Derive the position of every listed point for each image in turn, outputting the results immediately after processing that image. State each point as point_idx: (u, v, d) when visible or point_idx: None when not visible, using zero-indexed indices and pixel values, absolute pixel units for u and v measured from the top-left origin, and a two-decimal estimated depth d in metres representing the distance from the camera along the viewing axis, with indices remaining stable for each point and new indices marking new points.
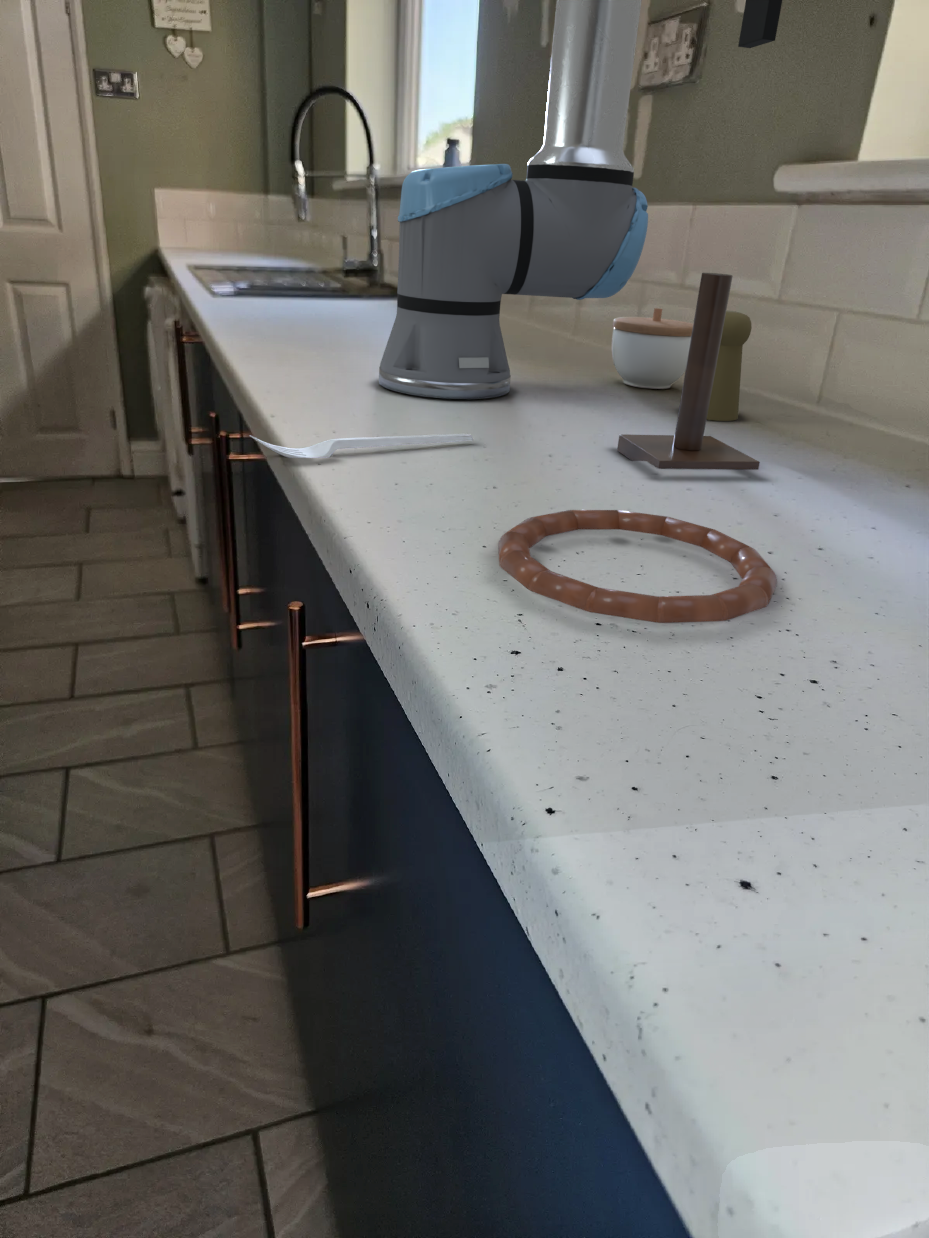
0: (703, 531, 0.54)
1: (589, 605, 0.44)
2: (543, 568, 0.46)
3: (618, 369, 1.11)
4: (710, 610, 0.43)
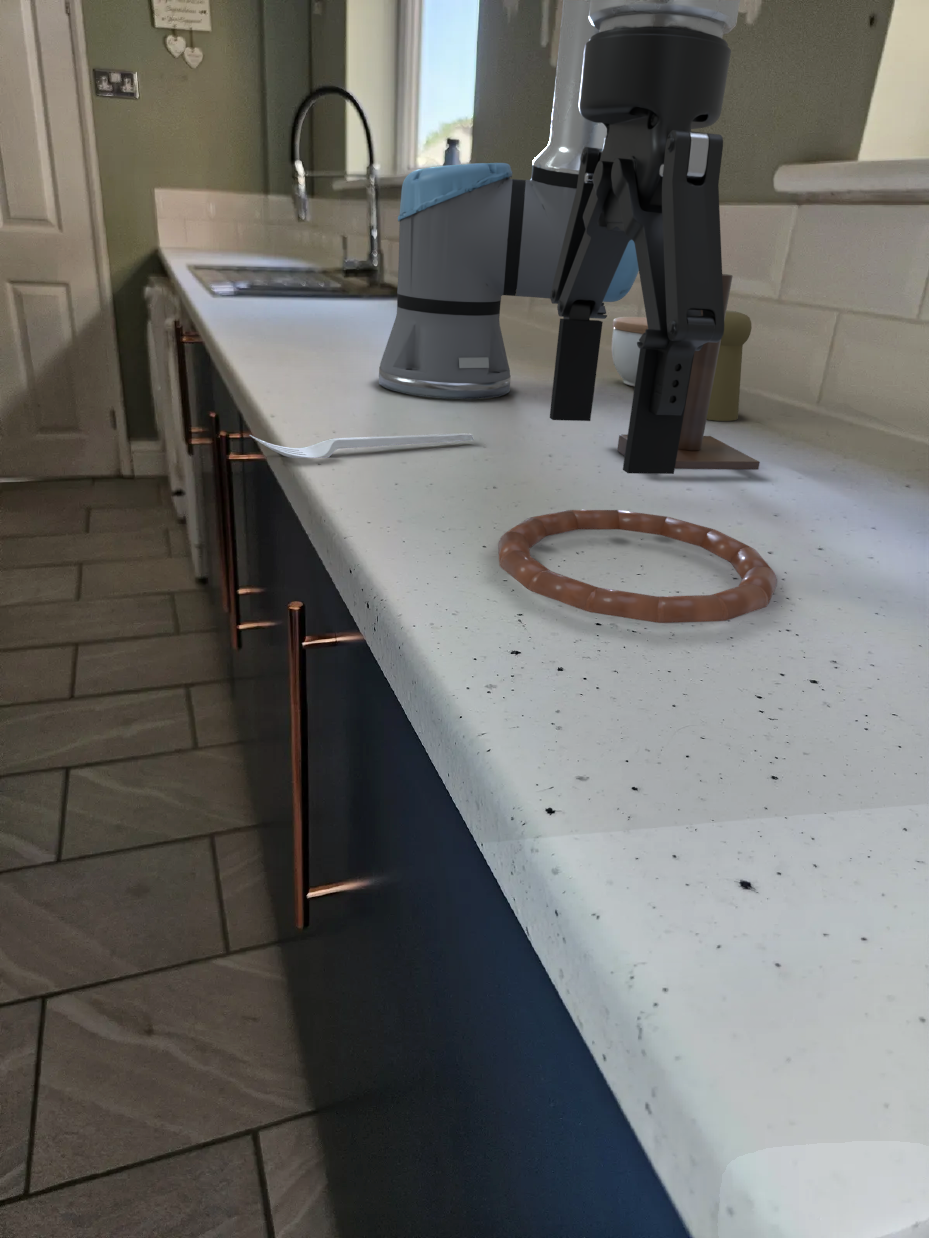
0: (703, 531, 0.54)
1: (589, 605, 0.44)
2: (543, 568, 0.46)
3: (618, 369, 1.11)
4: (710, 610, 0.43)
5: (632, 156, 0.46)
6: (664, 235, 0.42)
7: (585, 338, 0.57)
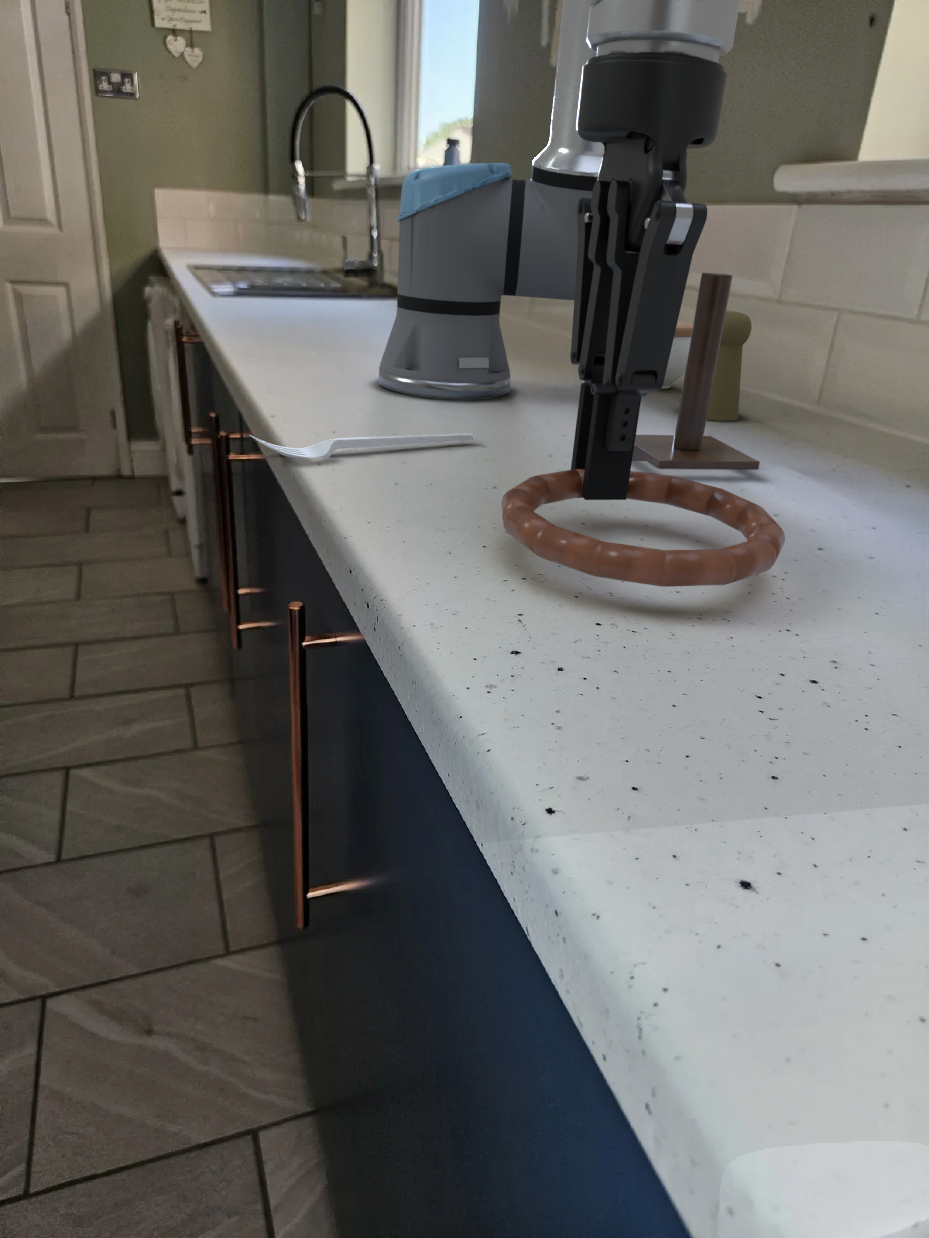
0: (709, 490, 0.53)
1: (595, 559, 0.43)
2: (548, 523, 0.45)
3: None
4: (718, 564, 0.43)
5: (629, 179, 0.46)
6: (633, 289, 0.46)
7: None
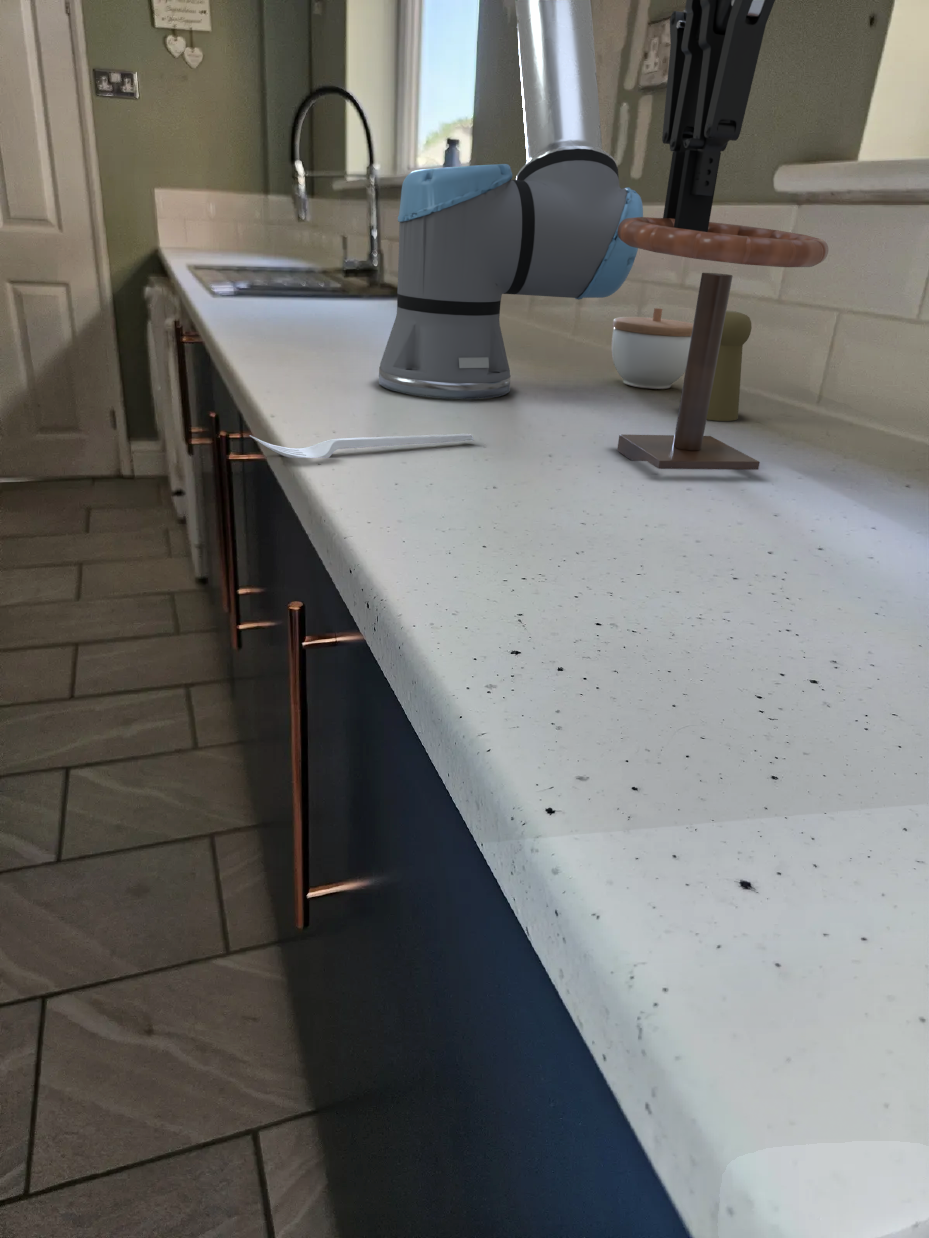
0: (770, 231, 0.71)
1: (696, 241, 0.61)
2: (660, 225, 0.63)
3: (618, 369, 1.11)
4: (783, 247, 0.61)
5: None
6: (721, 55, 0.64)
7: None
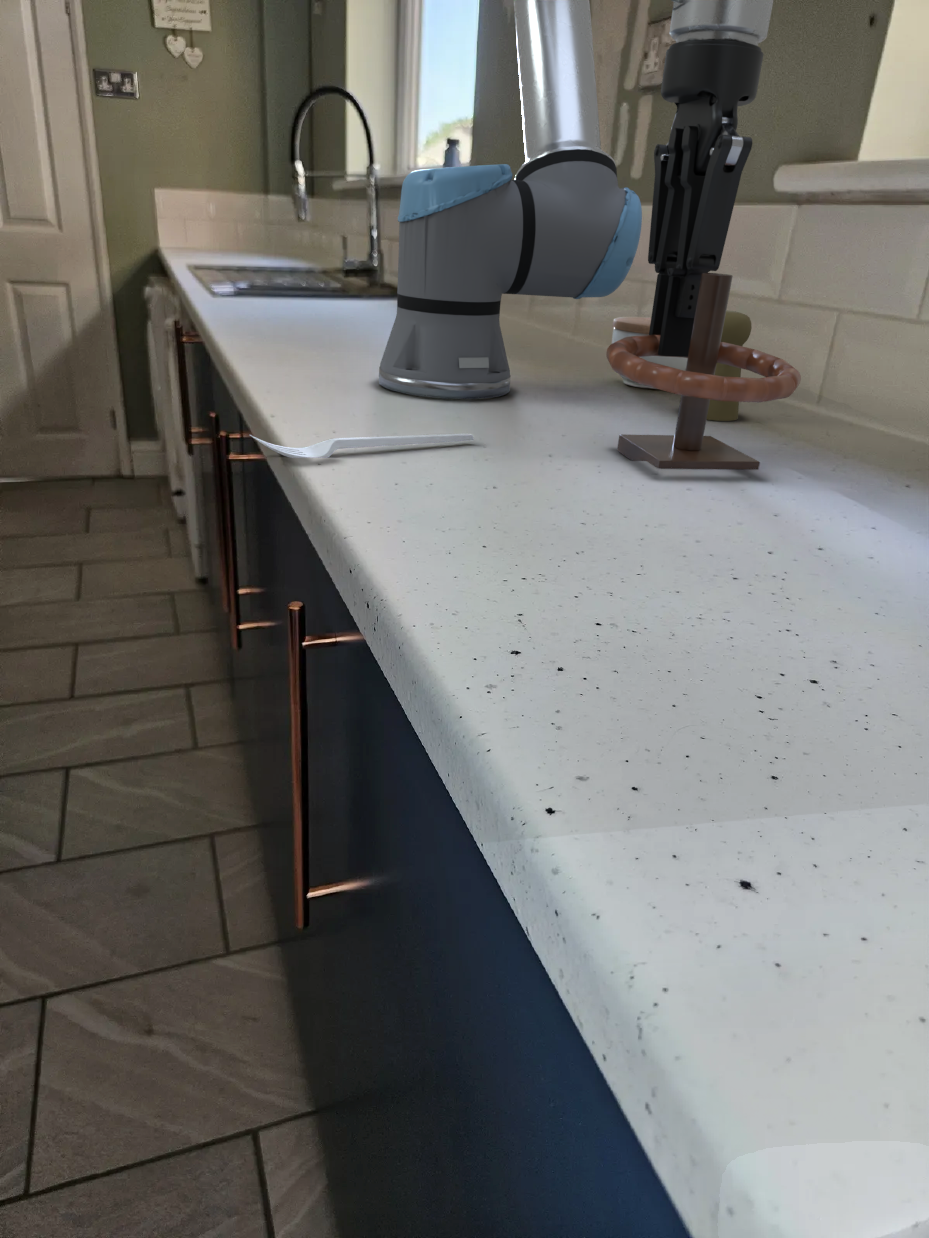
0: (748, 350, 0.76)
1: (678, 381, 0.66)
2: (644, 360, 0.68)
3: None
4: (757, 386, 0.66)
5: (697, 124, 0.69)
6: (701, 198, 0.69)
7: None
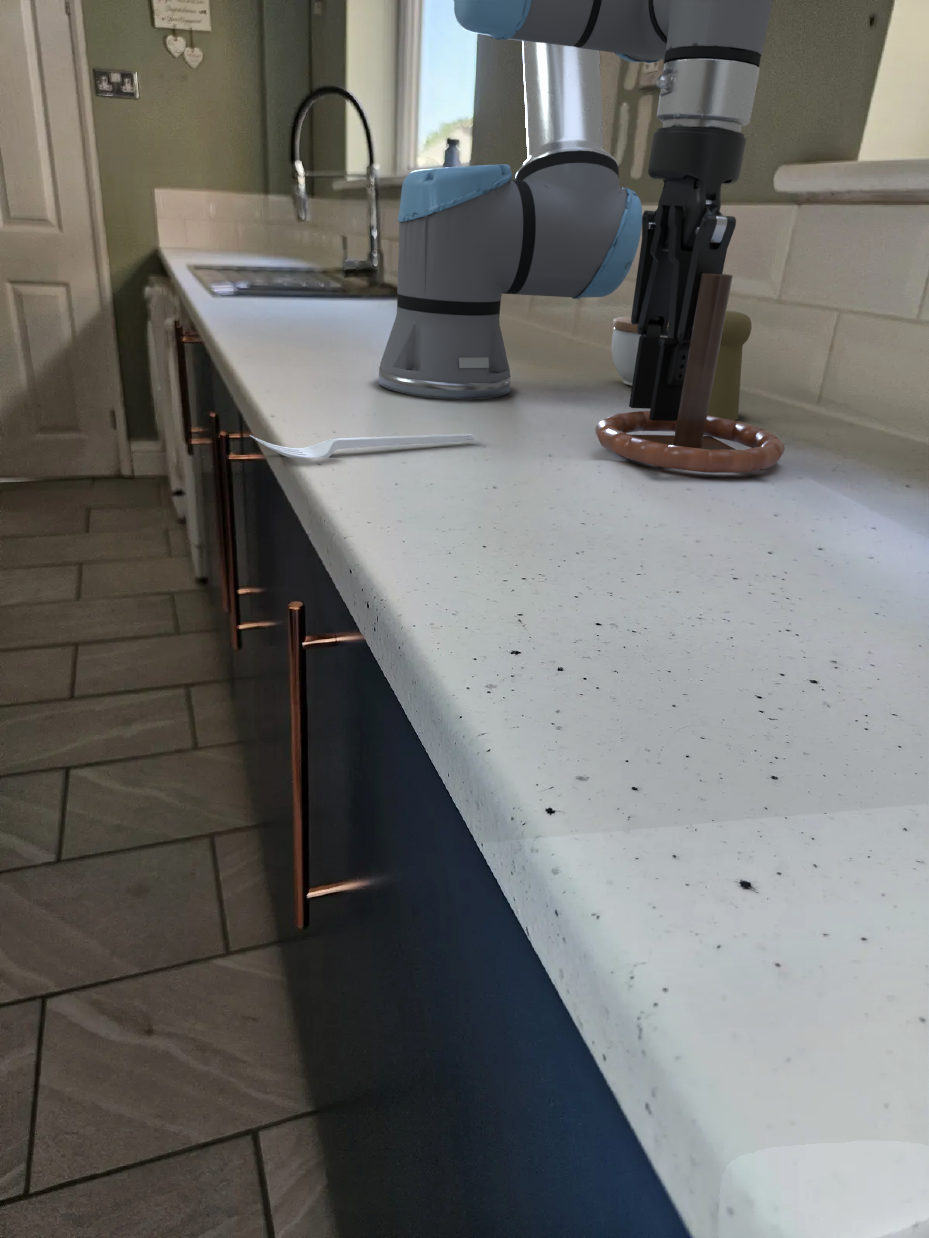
0: (733, 423, 0.79)
1: (664, 455, 0.68)
2: (632, 436, 0.71)
3: (618, 369, 1.11)
4: (742, 458, 0.68)
5: (682, 204, 0.72)
6: (689, 274, 0.71)
7: (657, 350, 0.81)
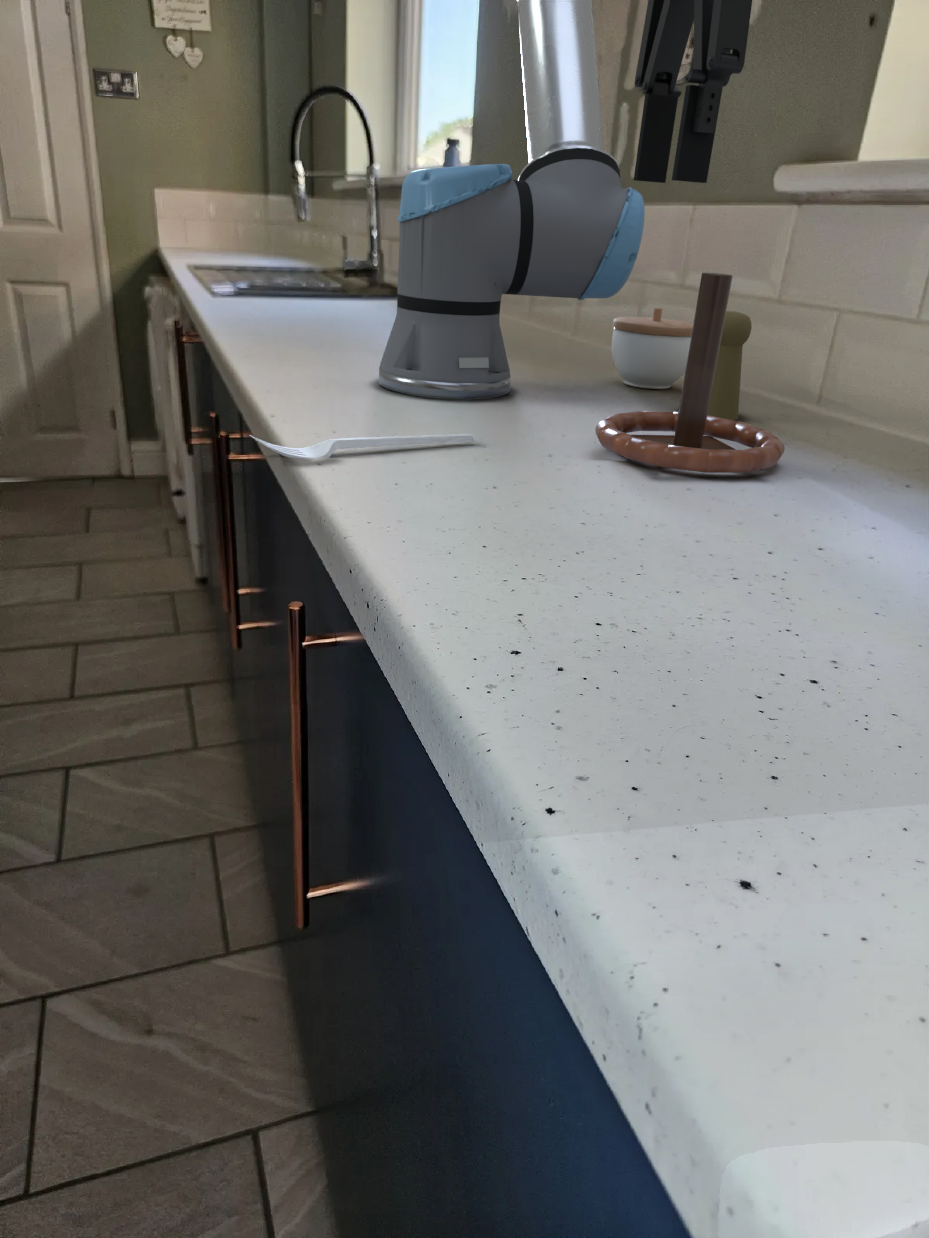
0: (733, 423, 0.79)
1: (664, 455, 0.68)
2: (632, 436, 0.71)
3: (618, 369, 1.11)
4: (742, 457, 0.68)
5: None
6: None
7: (664, 110, 0.74)
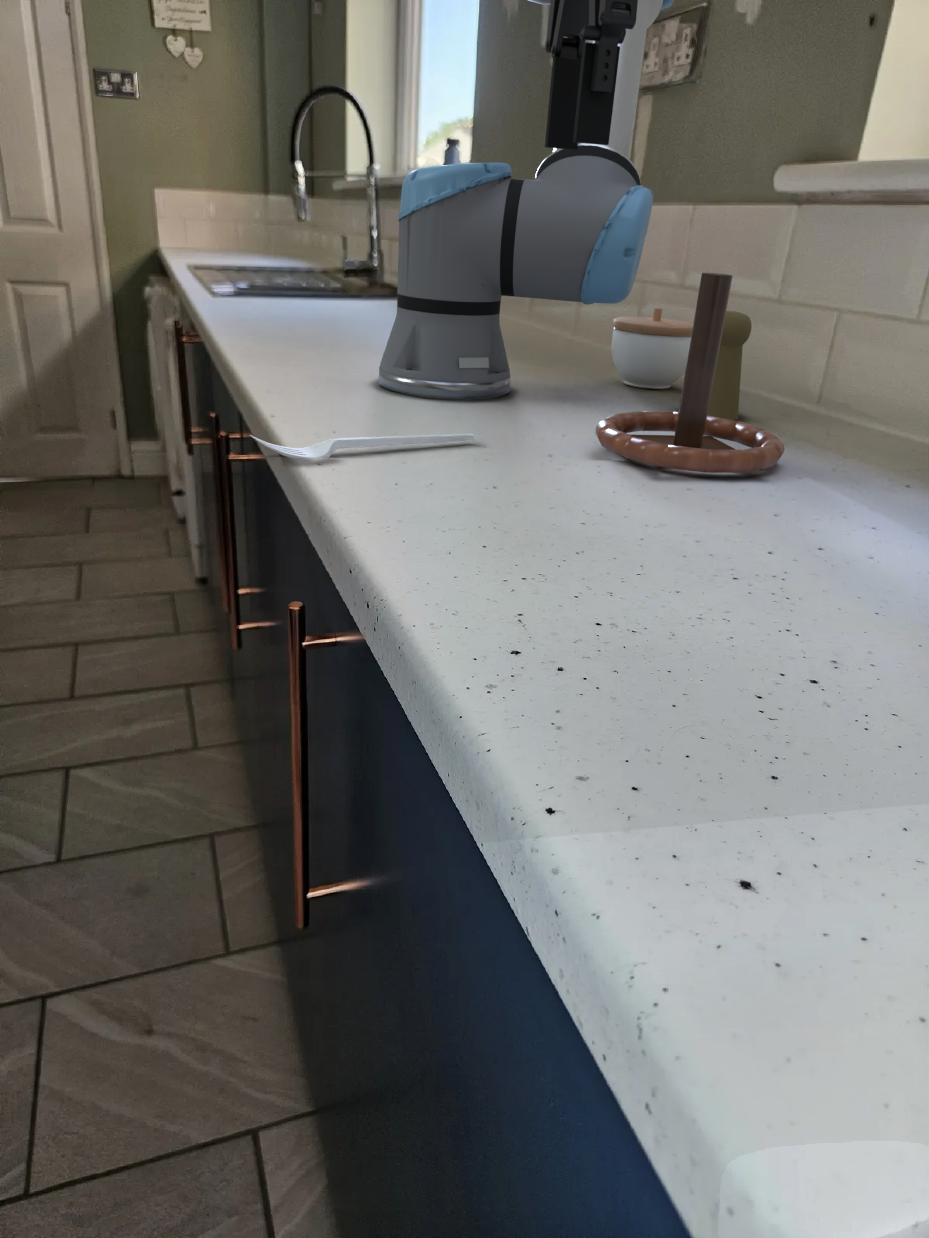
0: (733, 423, 0.79)
1: (664, 455, 0.68)
2: (632, 436, 0.71)
3: (618, 369, 1.11)
4: (742, 457, 0.68)
5: None
6: None
7: (573, 75, 0.72)
